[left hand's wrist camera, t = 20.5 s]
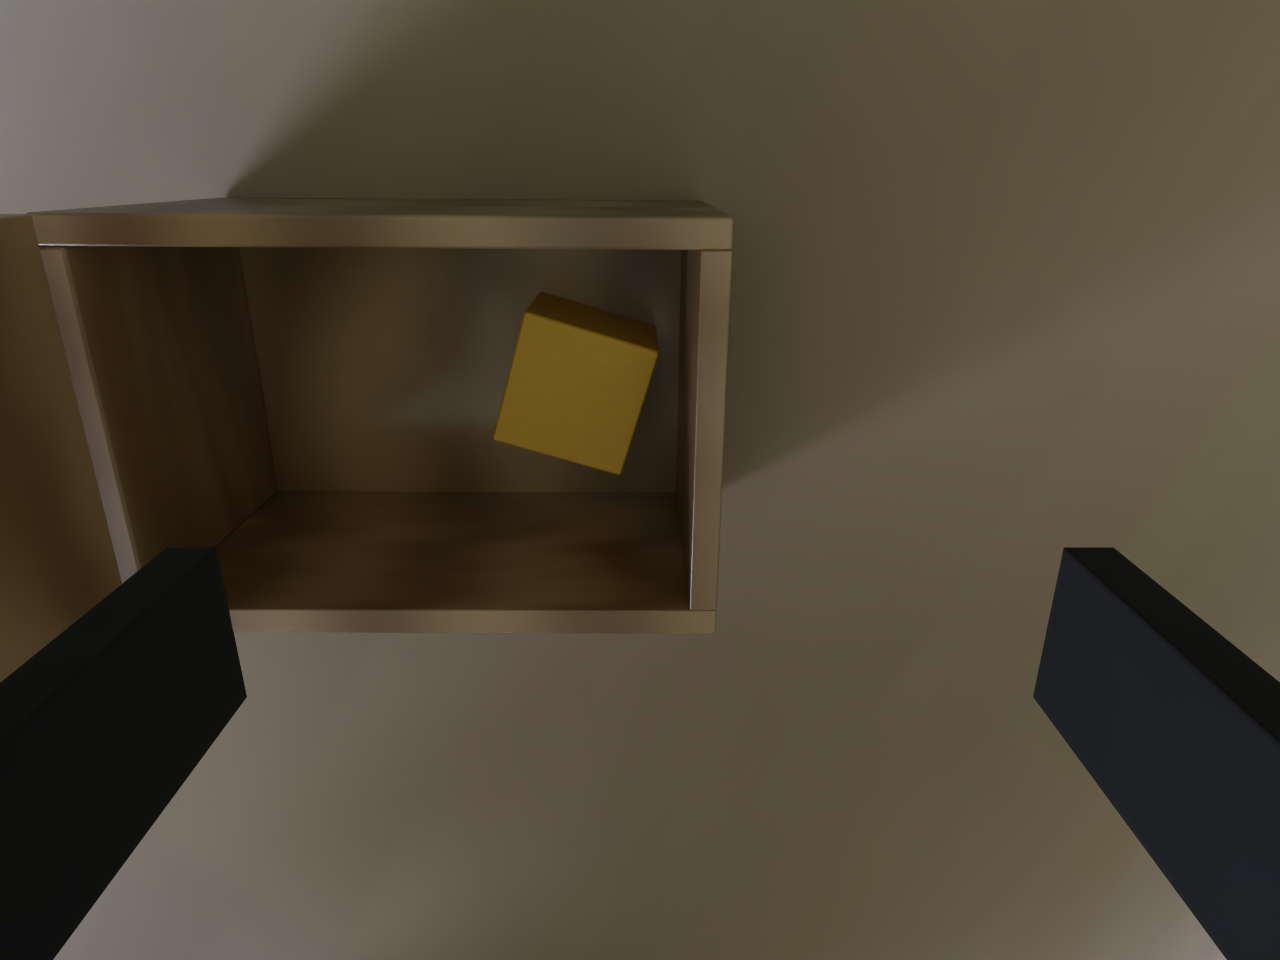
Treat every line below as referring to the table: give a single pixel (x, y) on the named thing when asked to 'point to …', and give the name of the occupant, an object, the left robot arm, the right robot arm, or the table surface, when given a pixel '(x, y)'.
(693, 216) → the chest
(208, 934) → the table surface
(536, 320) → the block
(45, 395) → the lid
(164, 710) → the left robot arm
